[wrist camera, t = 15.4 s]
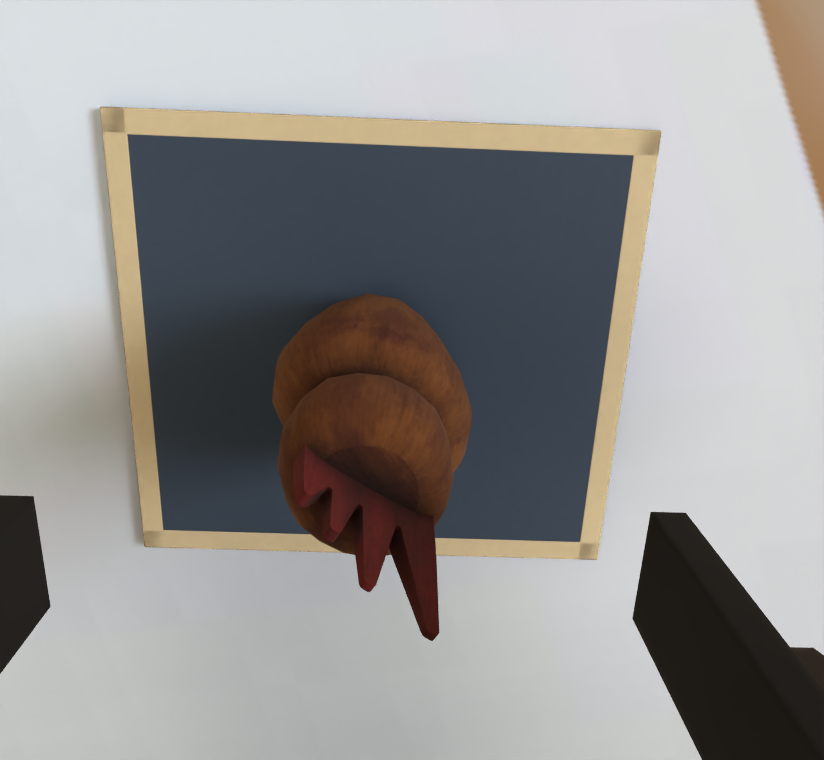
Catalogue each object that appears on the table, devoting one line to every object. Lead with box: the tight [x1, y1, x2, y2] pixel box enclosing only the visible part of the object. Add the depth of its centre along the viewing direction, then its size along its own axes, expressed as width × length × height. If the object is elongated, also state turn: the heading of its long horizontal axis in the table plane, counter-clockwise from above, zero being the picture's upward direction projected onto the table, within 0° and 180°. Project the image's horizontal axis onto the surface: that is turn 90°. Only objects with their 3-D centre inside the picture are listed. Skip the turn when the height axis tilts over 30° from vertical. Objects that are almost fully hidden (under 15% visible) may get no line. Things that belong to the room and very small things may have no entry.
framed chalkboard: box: [100, 107, 661, 560], centre depth 28 cm, size 20×18×1 cm
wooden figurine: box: [272, 293, 472, 641], centre depth 21 cm, size 7×6×15 cm
